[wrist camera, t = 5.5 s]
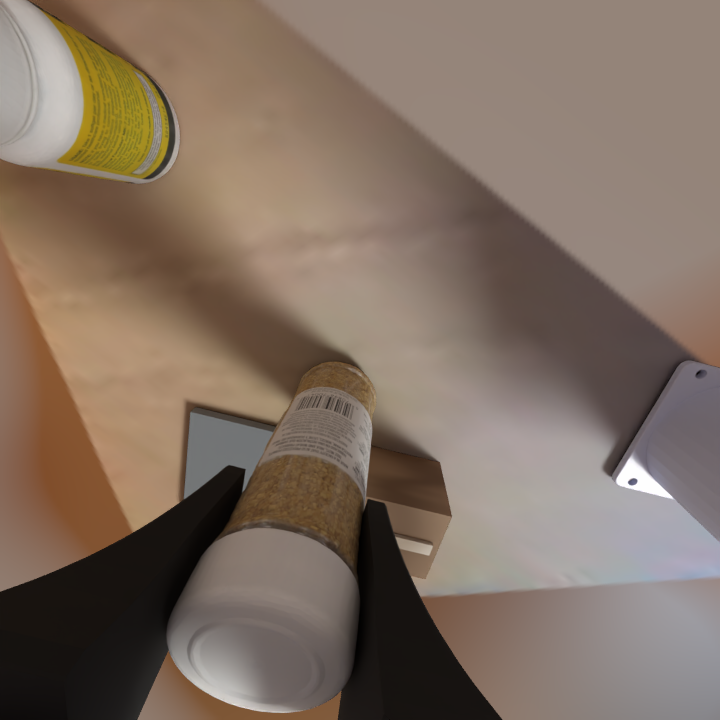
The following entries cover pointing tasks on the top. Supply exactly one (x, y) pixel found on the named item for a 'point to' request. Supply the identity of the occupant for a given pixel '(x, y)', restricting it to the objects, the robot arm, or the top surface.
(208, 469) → the grey mat
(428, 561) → the walnut block
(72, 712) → the robot arm
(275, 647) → the sprinkles bottle
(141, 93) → the supplement bottle
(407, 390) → the top surface
